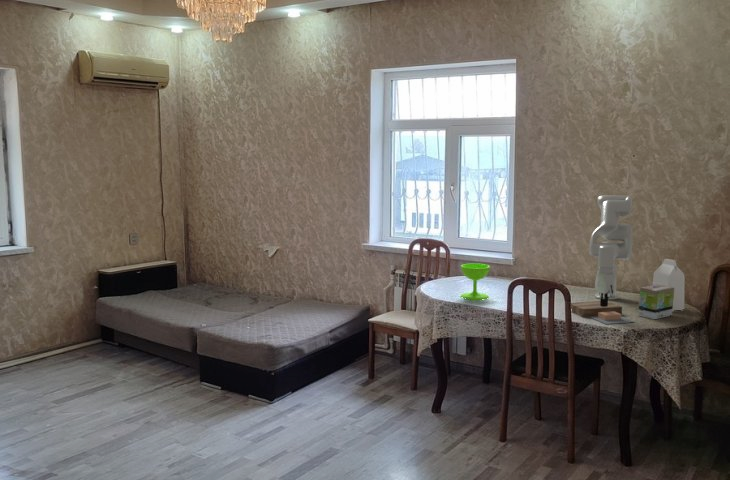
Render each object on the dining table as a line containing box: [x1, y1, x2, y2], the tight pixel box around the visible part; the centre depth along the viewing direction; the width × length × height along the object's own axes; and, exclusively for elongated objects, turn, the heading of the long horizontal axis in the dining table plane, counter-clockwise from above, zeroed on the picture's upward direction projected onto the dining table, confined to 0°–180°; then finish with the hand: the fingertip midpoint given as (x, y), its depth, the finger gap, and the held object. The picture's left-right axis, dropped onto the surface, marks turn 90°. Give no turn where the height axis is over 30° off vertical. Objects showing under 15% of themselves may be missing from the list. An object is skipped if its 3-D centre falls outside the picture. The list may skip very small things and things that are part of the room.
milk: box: [651, 258, 686, 312], centre depth 350 cm, size 12×12×26 cm
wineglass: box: [460, 263, 491, 301], centre depth 376 cm, size 16×16×18 cm
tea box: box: [637, 285, 674, 320], centre depth 335 cm, size 15×10×15 cm, turn 126°
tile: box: [598, 311, 622, 320], centre depth 329 cm, size 6×9×2 cm, turn 103°
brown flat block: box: [570, 300, 623, 318], centre depth 342 cm, size 14×22×4 cm, turn 104°
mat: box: [589, 315, 636, 326], centre depth 328 cm, size 14×16×1 cm
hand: (603, 306), depth 334 cm, fingers closed
